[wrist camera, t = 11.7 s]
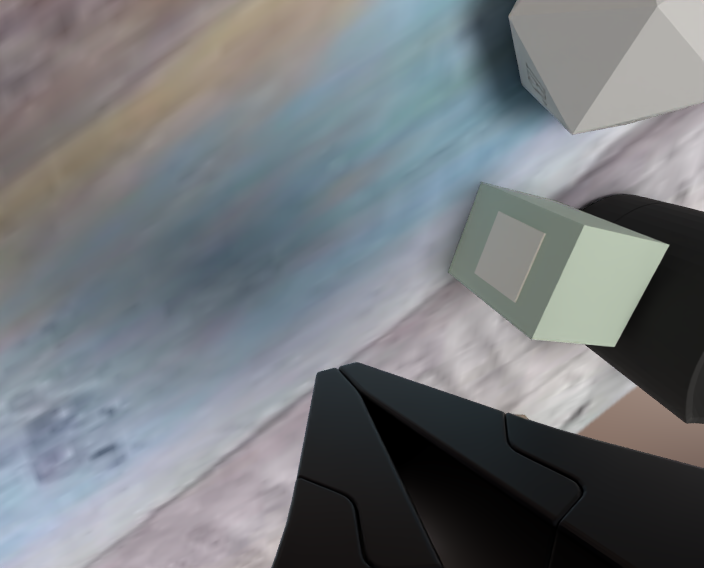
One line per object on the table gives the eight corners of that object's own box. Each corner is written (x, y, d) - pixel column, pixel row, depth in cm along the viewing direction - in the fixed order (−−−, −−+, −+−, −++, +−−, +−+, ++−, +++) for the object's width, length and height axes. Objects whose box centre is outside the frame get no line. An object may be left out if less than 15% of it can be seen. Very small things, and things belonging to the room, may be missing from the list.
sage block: (446, 271, 25) (529, 339, 19) (479, 181, 23) (582, 224, 17) (518, 282, 27) (614, 346, 21) (554, 200, 25) (669, 245, 19)
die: (428, 51, 20) (586, 204, 17) (559, -222, 14) (854, -64, 11) (531, 52, 25) (671, 172, 22) (664, -152, 19) (893, -28, 15)
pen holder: (553, 353, 31) (697, 468, 22) (510, 249, 26) (674, 344, 17) (667, 272, 31) (852, 354, 22) (646, 152, 26) (874, 199, 17)
